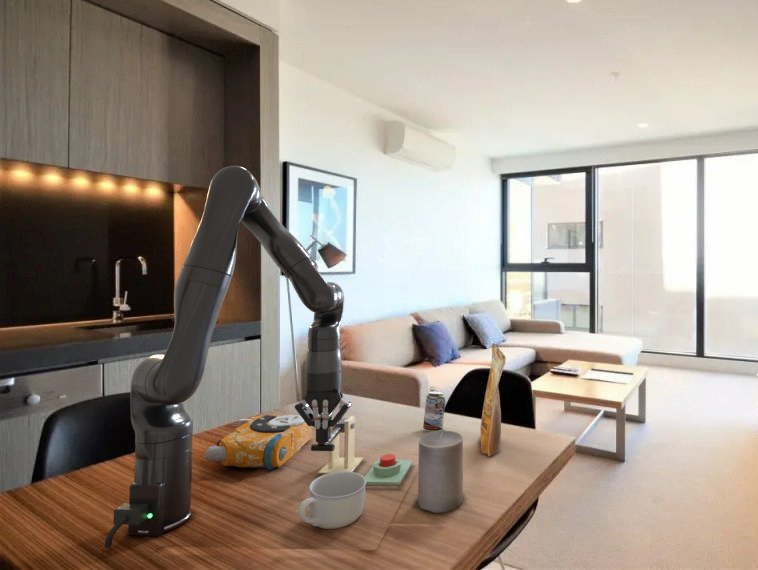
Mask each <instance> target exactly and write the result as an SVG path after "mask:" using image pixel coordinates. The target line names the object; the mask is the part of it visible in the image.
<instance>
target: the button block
mask: <svg viewBox="0 0 758 570" xmlns="http://www.w3.org/2000/svg"><path fill="white" fill-rule="evenodd" d="M412 465H413V460H412V459H410V460H409V459H408V460H407V459H406V460H405V459H404V460H403V459H401V458H398V457H395V465H393V466H388V467H382V466H380V459H377V460H375V462H374V463H373V465H372V466H371V468H370V469H369V470H368V471H367V473H366V474H365V476H364V477H365V479H366V486H400V485H401V483H402V481H403V480H404V478H405V476H406V474H407V473H408V471H409V469H410V467H411V466H412Z"/></svg>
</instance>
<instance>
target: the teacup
mask: <svg viewBox="0 0 758 570" xmlns="http://www.w3.org/2000/svg"><path fill="white" fill-rule="evenodd" d="M366 486H367V485H366V479H365V476H364V475H363V474H362V473H359V472H354V471H352V472H349V471H341V472H333V473H324V474H323V475H320V476H317V478H315V479H314V480H312V481H311V482H310V483H309V486H308V490H309V497H307V498H305V499H304V500H302V502H301V503H300V505H299V507H298V512H297V515H298V518H299V520H301V521H302V522H303V523H306V524H311V526H313V527H318V528H320V529H325V530H336V529H341V528H344V527H346V526H349V525H352V524H353V523H354V522H355V521H357V519H359V518H360V516H361V515H362V513H363V511H364V507H365V499H366V498H365V497H366ZM307 509H308V515H309V516H307V515H306V513H307Z"/></svg>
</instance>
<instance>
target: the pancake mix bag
mask: <svg viewBox="0 0 758 570" xmlns="http://www.w3.org/2000/svg"><path fill="white" fill-rule="evenodd" d="M506 359H507V357H506V355H505V354H504V353H503V351H501V349H500V348H499V347H498V345H496V344H495V343H492V344H491V361H490V368H489V373H488V374H489V375H488V379H487V384H486V389H485V394H484V401H483V406H482V414H481V419H480V433H479V435H480V449H481V453H482V454H483V455H487V456H488V457H492V456H494V455H497V454H498V453H499V450H500V449H499V448H500V444H501V437H502V410H501V398H500V390H499V383H500V380H501V376H502V373H503V371H504V368H505V365H506V362H507V361H506Z"/></svg>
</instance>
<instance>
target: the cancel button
mask: <svg viewBox="0 0 758 570" xmlns="http://www.w3.org/2000/svg"><path fill="white" fill-rule="evenodd" d="M395 458H396V454H394V453H393V454H391V453H386V454H383V455H381V456H380V458H379V460H380V466H382V467H388V466H393V465H395Z"/></svg>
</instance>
